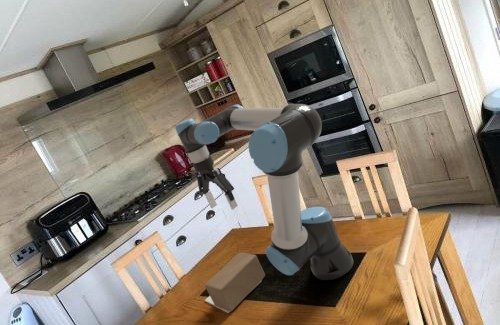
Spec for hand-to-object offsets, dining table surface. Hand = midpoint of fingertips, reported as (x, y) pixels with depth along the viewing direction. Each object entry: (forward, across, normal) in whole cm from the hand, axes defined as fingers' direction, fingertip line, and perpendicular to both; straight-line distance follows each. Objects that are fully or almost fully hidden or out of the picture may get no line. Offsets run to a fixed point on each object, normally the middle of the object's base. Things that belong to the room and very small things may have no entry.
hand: (224, 207), depth 145 cm
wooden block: (+24, -5, +2) cm, 25 cm away
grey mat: (+30, -1, +13) cm, 33 cm away
